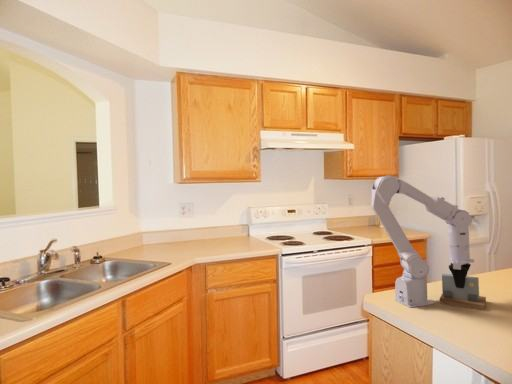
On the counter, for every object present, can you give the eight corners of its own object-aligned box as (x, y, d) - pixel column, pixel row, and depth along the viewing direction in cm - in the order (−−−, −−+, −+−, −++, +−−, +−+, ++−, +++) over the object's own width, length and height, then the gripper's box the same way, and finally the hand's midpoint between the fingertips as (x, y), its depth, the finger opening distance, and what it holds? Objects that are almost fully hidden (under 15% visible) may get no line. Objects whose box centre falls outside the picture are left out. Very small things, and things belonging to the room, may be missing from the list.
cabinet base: (484, 310, 97) (484, 305, 97) (439, 302, 104) (439, 298, 104) (485, 301, 104) (485, 296, 104) (443, 295, 111) (443, 290, 111)
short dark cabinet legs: (477, 302, 100) (476, 296, 100) (443, 297, 105) (443, 291, 105) (478, 297, 104) (478, 291, 104) (445, 292, 109) (445, 287, 109)
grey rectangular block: (478, 302, 100) (477, 280, 100) (442, 296, 106) (441, 275, 106) (479, 299, 102) (478, 277, 102) (443, 293, 109) (442, 273, 109)
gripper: (471, 250, 96) (473, 294, 96) (475, 242, 108) (476, 282, 108) (444, 248, 101) (446, 290, 101) (451, 241, 112) (452, 279, 112)
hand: (460, 286), depth 104 cm, fingers closed on grey rectangular block, 2 cm apart
